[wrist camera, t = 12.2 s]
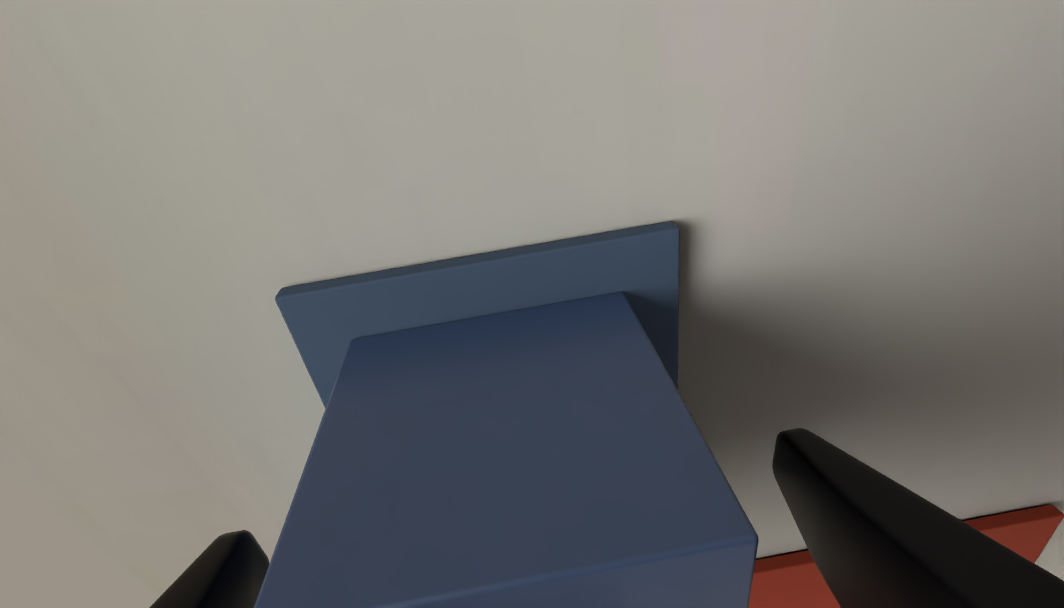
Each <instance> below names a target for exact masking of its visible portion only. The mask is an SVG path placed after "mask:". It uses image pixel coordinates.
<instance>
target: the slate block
mask: <svg viewBox="0 0 1064 608" xmlns="http://www.w3.org/2000/svg"><path fill="white" fill-rule="evenodd" d="M757 546H758V535H757V534H756V532H755V530H754V528H753V526H752V524H751V523H750V521H749V519H748V517H747V515H746V514H745V512H744V510H743V508H742V506H741V505H740V503H739V501H738V499H737V497H736V495H735V494H734V492H733V490H732V488H731V486H730V485H729V483H728V481H727V479H726V477H725V476H724V474H723V472H722V470H721V468H720V466H719V465H718V463H717V461H716V459H715V457H714V456H713V454H712V452H711V450H710V448H709V446H708V445H707V443H706V441H705V439H704V437H703V436H702V434H701V432H700V430H699V428H698V427H697V425H696V423H695V421H694V419H693V417H692V416H691V414H690V412H689V410H688V408H687V407H686V405H685V403H684V401H683V399H682V398H681V396H680V394H679V392H678V390H677V388H676V387H675V385H674V383H673V381H672V379H671V378H670V376H669V374H668V372H667V370H666V369H665V367H664V365H663V363H662V361H661V359H660V358H659V356H658V354H657V352H656V350H655V349H654V347H653V345H652V343H651V341H650V340H649V338H648V336H647V334H646V332H645V330H644V329H643V327H642V325H641V323H640V321H639V320H638V318H637V316H636V314H635V312H634V311H633V309H632V307H631V305H630V303H629V301H628V300H627V298H626V296H625V294H624V293H623V292H618V293H612V294H607V295H601V296H595V297H590V298H584V299H578V300H573V301H567V302H561V303H556V304H550V305H544V306H539V307H533V308H527V309H522V310H516V311H510V312H505V313H499V314H493V315H488V316H482V317H476V318H471V319H465V320H459V321H454V322H448V323H442V324H436V325H431V326H425V327H419V328H414V329H408V330H402V331H397V332H391V333H385V334H380V335H374V336H368V337H363V338H357V339H353V340H351V341H350V343H349V346H348V348H347V351H346V354H345V357H344V359H343V362H342V365H341V368H340V371H339V373H338V376H337V379H336V382H335V384H334V387H333V390H332V393H331V395H330V398H329V401H328V404H327V407H326V409H325V412H324V415H323V418H322V420H321V423H320V426H319V429H318V431H317V434H316V437H315V440H314V443H313V445H312V448H311V451H310V454H309V456H308V459H307V462H306V465H305V468H304V470H303V473H302V476H301V479H300V481H299V484H298V487H297V490H296V492H295V495H294V498H293V501H292V504H291V506H290V509H289V512H288V515H287V517H286V520H285V523H284V526H283V528H282V531H281V534H280V537H279V540H278V542H277V545H276V548H275V551H274V553H273V556H272V559H271V562H270V565H269V567H268V570H267V573H266V576H265V578H264V581H263V584H262V587H261V589H260V592H259V595H258V598H257V601H256V603H255V606H254V608H748V607H749V600H750V593H751V587H752V580H753V573H754V566H755V560H756V553H757Z"/></svg>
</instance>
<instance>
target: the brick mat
mask: <svg viewBox="0 0 1064 608" xmlns="http://www.w3.org/2000/svg"><path fill="white" fill-rule="evenodd" d="M1063 517H1064V514H1063V513H1062V512H1061V511H1059V510H1058V509H1057V508H1056V507H1055V506H1054V505H1046V506H1040V507H1035V508H1030V509H1025V510H1019V511H1014V512H1009V513H1003V514H998V515H993V516H987V517H982V518H977V519H972V520H966V521H963V522H965V523H966V524H968V525H970V526H971V527H973V528H975V529H976V530H978V531H980V532H982V533H983V534H985V535H987V536H988V537H990V538H992V539H993V540H995V541H997V542H999V543H1000V544H1002V545H1004V546H1005V547H1007V548H1009V549H1010V550H1012V551H1014V552H1015V553H1017V554H1019V555H1021V556H1022V557H1024V558H1026V559H1027V560H1029V561H1031V562H1032V563H1035V562H1036V560H1037V558H1038V557H1039V555H1040V554H1041V552H1042V551H1043V549H1044V547H1045V546H1046V544H1047V543H1048V541H1049V540H1050V538H1051V536H1052V535H1053V533H1054V532H1055V530H1056V528H1057V527H1058V525H1059V524H1060V522H1061V521H1062V519H1063ZM748 608H841V607H840V605H839V604H838V602H837V600H836V599H835V597H834V595H833V594H832V592H831V590H830V588H829V587H828V585H827V583H826V582H825V580H824V578H823V576H822V575H821V573H820V571H819V569H818V568H817V566H816V564H815V562H814V560H813V558H812V556H811V554H810V552H809V550H807V551H802V552H797V553H791V554H786V555H781V556H776V557H770V558H765V559H760V560H755V566H754V573H753V580H752V587H751V593H750V600H749V607H748Z"/></svg>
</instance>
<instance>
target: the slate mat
mask: <svg viewBox="0 0 1064 608" xmlns="http://www.w3.org/2000/svg"><path fill="white" fill-rule="evenodd" d="M679 250H680V229H679V227H678V226H677V225H676V224H675V223H674V222H672V221H669V222H663V223H658V224H652V225H646V226H640V227H634V228H629V229H623V230H617V231H611V232H605V233H599V234H594V235H588V236H582V237H576V238H570V239H564V240H559V241H553V242H547V243H541V244H535V245H529V246H524V247H518V248H512V249H506V250H500V251H494V252H489V253H483V254H477V255H471V256H465V257H459V258H454V259H448V260H442V261H436V262H430V263H424V264H419V265H413V266H407V267H401V268H395V269H390V270H384V271H378V272H372V273H366V274H360V275H355V276H349V277H343V278H337V279H331V280H325V281H320V282H314V283H308V284H302V285H296V286H290V287H285V288H282V289H281V290H280V291H279V293H278V294H277V295H276V297H275V301H276V303H277V305H278V307H279V309H280V311H281V313H282V316H283V318H284V320H285V322H286V324H287V326H288V329H289V331H290V333H291V335H292V337H293V339H294V342H295V344H296V346H297V348H298V350H299V352H300V355H301V357H302V359H303V361H304V363H305V365H306V367H307V370H308V372H309V374H310V376H311V378H312V380H313V383H314V385H315V387H316V389H317V391H318V393H319V396H320V398H321V400H322V402H323V404H324V406H325V409H326V407H327V404H328V401H329V398H330V395H331V393H332V390H333V387H334V384H335V382H336V379H337V376H338V373H339V371H340V368H341V365H342V362H343V359H344V357H345V354H346V351H347V348H348V346H349V343H350V341H351V340H353V339H357V338H363V337H368V336H374V335H380V334H385V333H391V332H397V331H402V330H408V329H414V328H419V327H425V326H431V325H436V324H442V323H448V322H454V321H459V320H465V319H471V318H476V317H482V316H488V315H493V314H499V313H505V312H510V311H516V310H522V309H527V308H533V307H539V306H544V305H550V304H556V303H561V302H567V301H573V300H578V299H584V298H590V297H595V296H601V295H607V294H612V293H618V292H623V293H624V294H625V296H626V298H627V300H628V301H629V303H630V305H631V307H632V309H633V311H634V312H635V314H636V316H637V318H638V320H639V321H640V323H641V325H642V327H643V329H644V330H645V332H646V334H647V336H648V338H649V340H650V341H651V343H652V345H653V347H654V349H655V350H656V352H657V354H658V356H659V358H660V359H661V361H662V363H663V365H664V367H665V369H666V370H667V372H668V374H669V376H670V378H671V379H672V381H673V383H674V385H675V387H676V388H678V319H679Z"/></svg>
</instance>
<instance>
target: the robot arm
mask: <svg viewBox="0 0 1064 608" xmlns="http://www.w3.org/2000/svg"><path fill="white" fill-rule="evenodd" d="M772 467H773V473H774V476H775V479H776V481H777V483H778V485H779V487H780V490H781V492H782V494H783V496H784V498H785V500H786V503H787V505H788V507H789V509H790V511H791V513H792V515H793V518H794V520H795V522H796V524H797V526H798V528H799V530H800V533H801V535H802V537H803V539H804V541H805V543H806V545H807V548H808V550H809V552H810V554H811V556H812V558H813V560H814V562H815V564H816V566H817V568H818V569H819V571H820V573H821V575H822V576H823V578H824V580H825V582H826V583H827V585H828V587H829V588H830V590H831V592H832V594H833V595H834V597H835V599H836V600H837V602H838V604H839V605H840V607H841V608H1064V581H1063V580H1061V579H1060V578H1058V577H1056V576H1054V575H1053V574H1051V573H1049V572H1048V571H1046V570H1044V569H1043V568H1041V567H1039V566H1038V565H1036V564H1034V563H1032V562H1031V561H1029V560H1027V559H1026V558H1024V557H1022V556H1021V555H1019V554H1017V553H1015V552H1014V551H1012V550H1010V549H1009V548H1007V547H1005V546H1004V545H1002V544H1000V543H999V542H997V541H995V540H993V539H992V538H990V537H988V536H987V535H985V534H983V533H982V532H980V531H978V530H976V529H975V528H973V527H971V526H970V525H968V524H966V523H965V522H963V521H961V520H959V519H958V518H956V517H954V516H953V515H951V514H949V513H948V512H946V511H944V510H943V509H941V508H939V507H937V506H936V505H934V504H932V503H931V502H929V501H927V500H926V499H924V498H922V497H920V496H919V495H917V494H915V493H914V492H912V491H910V490H909V489H907V488H905V487H904V486H902V485H900V484H898V483H897V482H895V481H893V480H892V479H890V478H888V477H887V476H885V475H883V474H881V473H880V472H878V471H876V470H875V469H873V468H871V467H870V466H868V465H866V464H865V463H863V462H861V461H859V460H858V459H856V458H854V457H853V456H851V455H849V454H848V453H846V452H844V451H842V450H841V449H839V448H837V447H836V446H834V445H832V444H831V443H829V442H827V441H825V440H824V439H822V438H820V437H819V436H817V435H815V434H814V433H812V432H810V431H808V430H806V429H803V428H796V429H791V430H785V431H781V432H779V434H778V435H777V438H776V443H775V450H774V456H773V463H772ZM269 565H270V564H269V560H268V557H267V556H266V554H265V553H264V551H263V550H262V548H261V547H260V545H259V544H258V542H257V541H256V539H255V538H254V536H253V535H252V534H251V533H250V532H249V531H246V530H242V531H236V532H231V533H226V534H223V535H221V536H219V537H218V538H217V539H216V540H214V541H213V543H212V544H211V545H210V546H209V547H208V548H207V549H206V550H205V551H204V552H203V553H202V554H201V555H200V556H199V557H198V558H197V559H196V560H195V561H194V562H193V563H192V564H191V565H190V566H189V567H188V568H187V569H186V570H185V571H184V573H183V574H182V575H181V576H180V577H179V578H178V579H177V580H176V581H175V582H174V583H173V584H172V585H171V586H170V587H169V588H168V589H167V590H166V591H165V592H164V593H163V594H162V595H161V596H160V597H159V598H158V599H157V600H156V602H155V603H154V604H153V605H152V606H151V607H150V608H254V606H255V603H256V601H257V598H258V595H259V592H260V589H261V587H262V584H263V581H264V578H265V576H266V573H267V570H268V567H269Z"/></svg>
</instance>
